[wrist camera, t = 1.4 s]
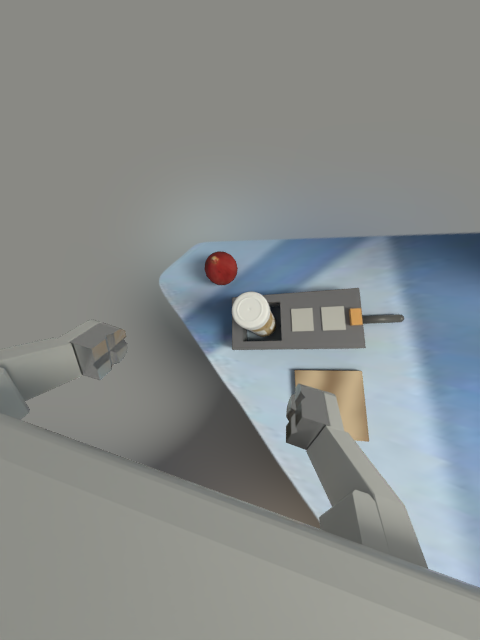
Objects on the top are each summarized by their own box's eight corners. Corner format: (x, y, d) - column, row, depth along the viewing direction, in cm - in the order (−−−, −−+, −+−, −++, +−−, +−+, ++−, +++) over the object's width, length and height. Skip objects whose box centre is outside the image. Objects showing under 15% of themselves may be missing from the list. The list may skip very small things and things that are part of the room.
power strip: (397, 291, 32) (413, 282, 28) (405, 347, 31) (423, 347, 27) (237, 302, 39) (230, 296, 34) (237, 349, 37) (230, 349, 33)
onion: (211, 289, 40) (193, 274, 33) (215, 262, 41) (198, 241, 33) (239, 290, 39) (227, 275, 31) (243, 262, 40) (231, 241, 32)
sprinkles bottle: (281, 323, 36) (277, 306, 23) (265, 342, 36) (251, 336, 23) (262, 307, 37) (247, 283, 24) (246, 326, 37) (223, 312, 25)
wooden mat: (360, 370, 32) (361, 371, 31) (367, 439, 30) (369, 441, 29) (294, 370, 34) (294, 370, 33) (297, 433, 33) (298, 435, 32)
